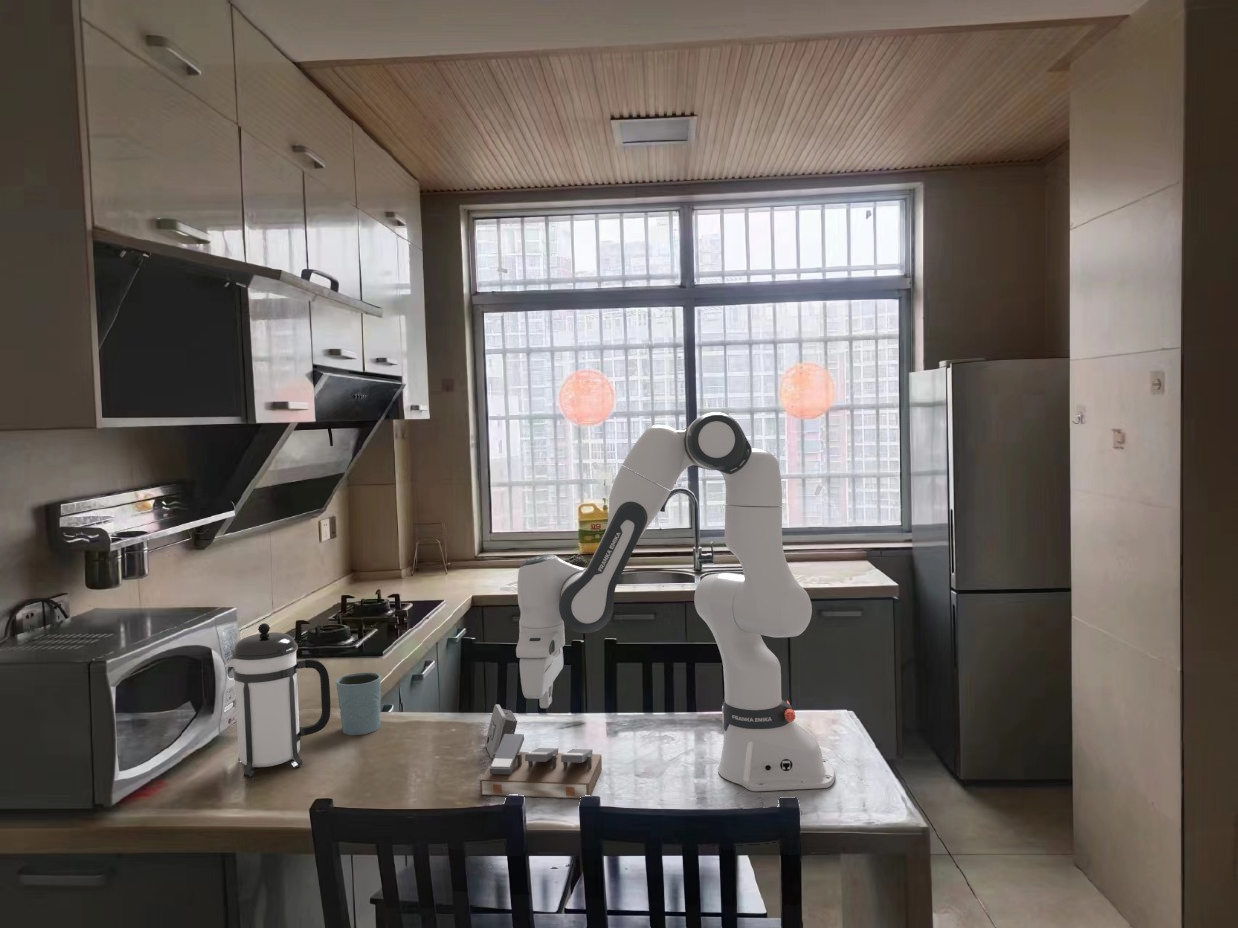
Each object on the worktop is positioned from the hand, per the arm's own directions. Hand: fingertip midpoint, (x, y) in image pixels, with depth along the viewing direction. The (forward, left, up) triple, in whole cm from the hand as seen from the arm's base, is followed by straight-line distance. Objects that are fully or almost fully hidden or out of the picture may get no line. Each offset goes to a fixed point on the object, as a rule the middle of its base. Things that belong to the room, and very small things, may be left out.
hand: (546, 705), depth 171 cm
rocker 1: (+7, +3, -9) cm, 12 cm away
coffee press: (+59, -2, -14) cm, 61 cm away
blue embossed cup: (+50, -23, -14) cm, 57 cm away
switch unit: (0, +3, -14) cm, 14 cm away
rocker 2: (-7, +3, -9) cm, 11 cm away
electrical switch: (+13, -12, -14) cm, 23 cm away
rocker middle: (0, +3, -9) cm, 9 cm away
